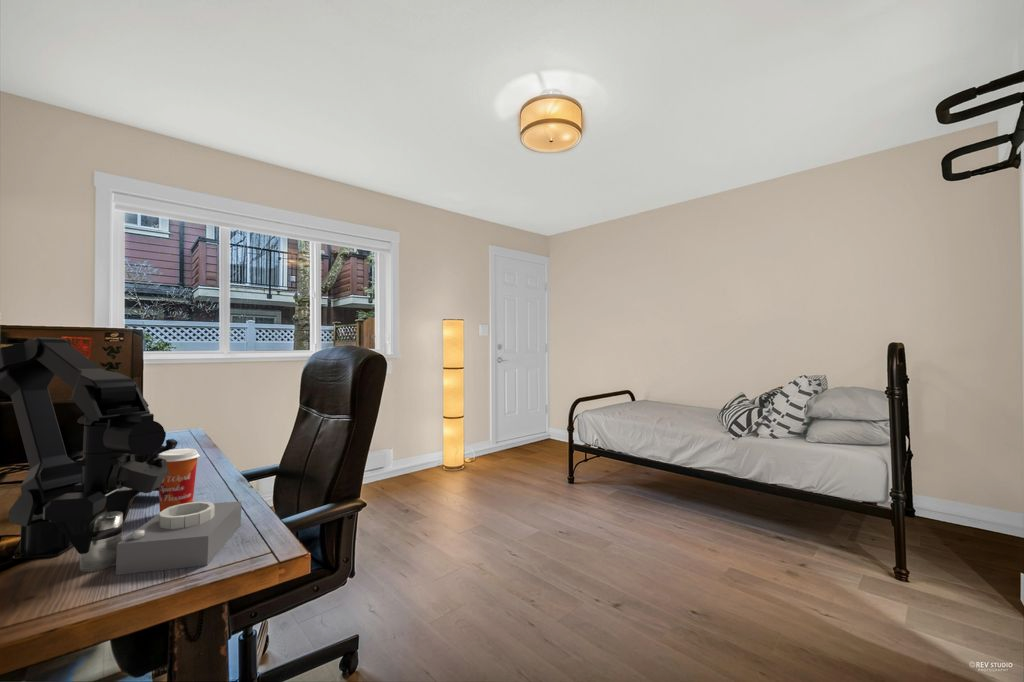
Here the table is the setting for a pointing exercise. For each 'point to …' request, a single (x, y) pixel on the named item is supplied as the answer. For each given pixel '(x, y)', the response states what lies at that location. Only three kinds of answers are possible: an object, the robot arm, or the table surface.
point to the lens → (103, 542)
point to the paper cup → (178, 477)
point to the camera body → (179, 537)
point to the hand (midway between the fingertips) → (101, 541)
